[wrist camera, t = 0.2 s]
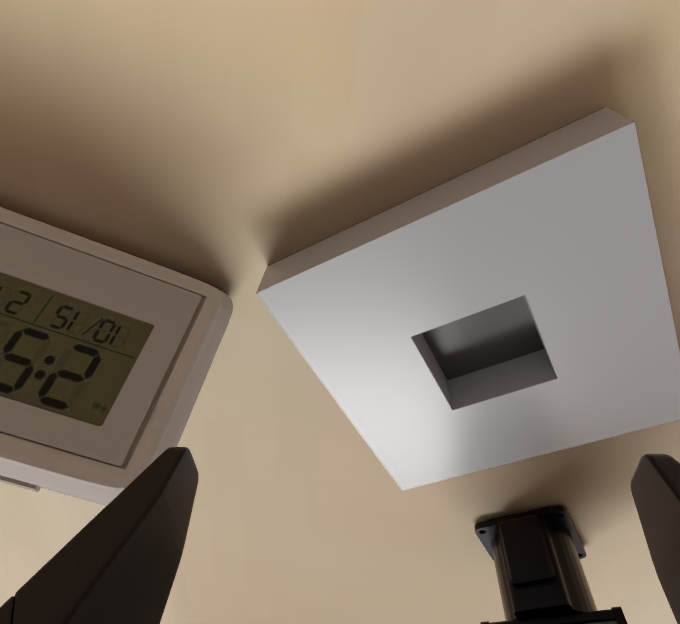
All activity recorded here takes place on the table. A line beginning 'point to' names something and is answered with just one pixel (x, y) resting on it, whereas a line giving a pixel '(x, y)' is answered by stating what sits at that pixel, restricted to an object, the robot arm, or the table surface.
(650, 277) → the socket plate
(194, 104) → the table surface
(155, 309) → the digital clock
